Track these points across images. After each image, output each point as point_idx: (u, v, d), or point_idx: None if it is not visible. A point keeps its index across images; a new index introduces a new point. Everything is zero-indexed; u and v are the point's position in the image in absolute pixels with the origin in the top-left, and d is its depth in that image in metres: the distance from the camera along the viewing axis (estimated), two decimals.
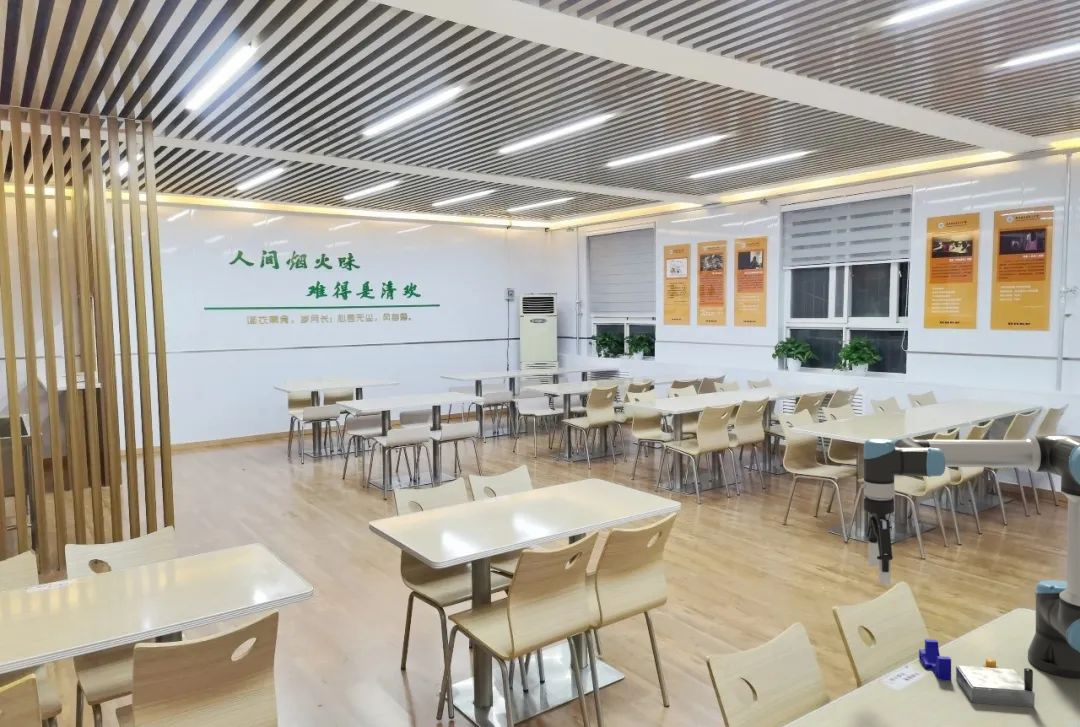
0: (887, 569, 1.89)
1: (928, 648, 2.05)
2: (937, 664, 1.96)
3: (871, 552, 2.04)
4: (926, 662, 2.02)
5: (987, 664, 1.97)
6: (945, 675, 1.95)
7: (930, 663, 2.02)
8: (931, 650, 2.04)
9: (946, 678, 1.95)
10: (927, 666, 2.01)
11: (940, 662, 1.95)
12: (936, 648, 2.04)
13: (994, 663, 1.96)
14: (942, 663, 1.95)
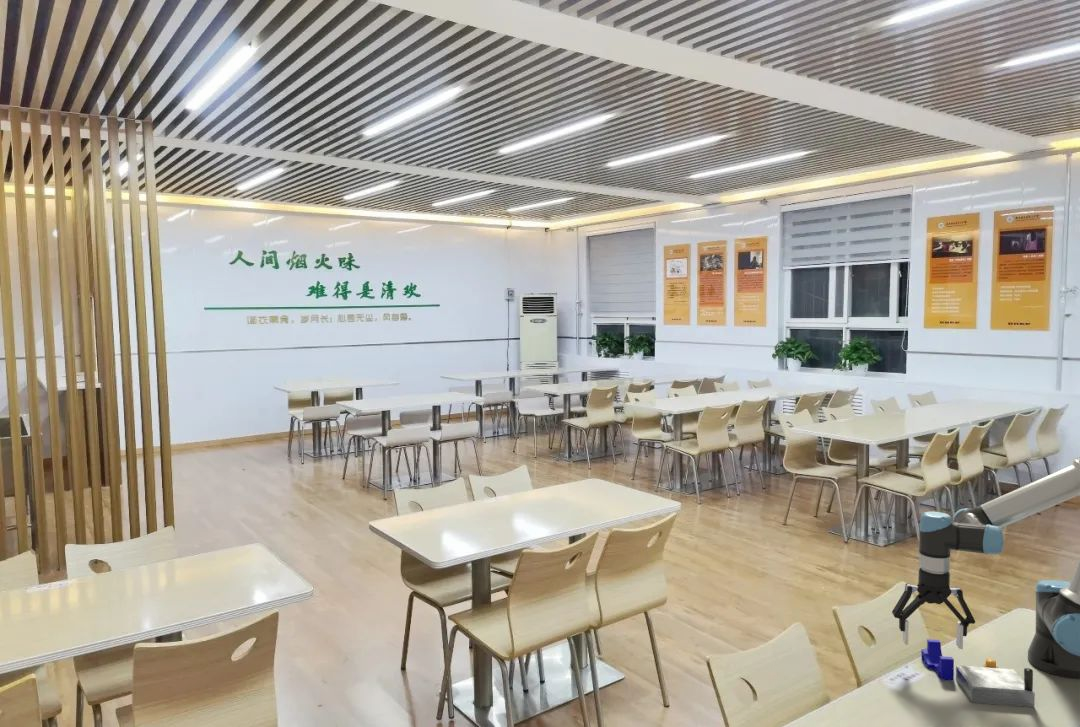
0: (900, 627, 2.02)
1: (930, 648, 2.05)
2: (940, 664, 1.96)
3: (957, 632, 2.00)
4: (928, 662, 2.02)
5: (987, 664, 1.97)
6: (948, 675, 1.95)
7: (932, 663, 2.01)
8: (933, 650, 2.04)
9: (948, 678, 1.95)
10: (929, 666, 2.01)
11: (943, 662, 1.95)
12: (938, 648, 2.04)
13: (994, 663, 1.96)
14: (945, 663, 1.95)
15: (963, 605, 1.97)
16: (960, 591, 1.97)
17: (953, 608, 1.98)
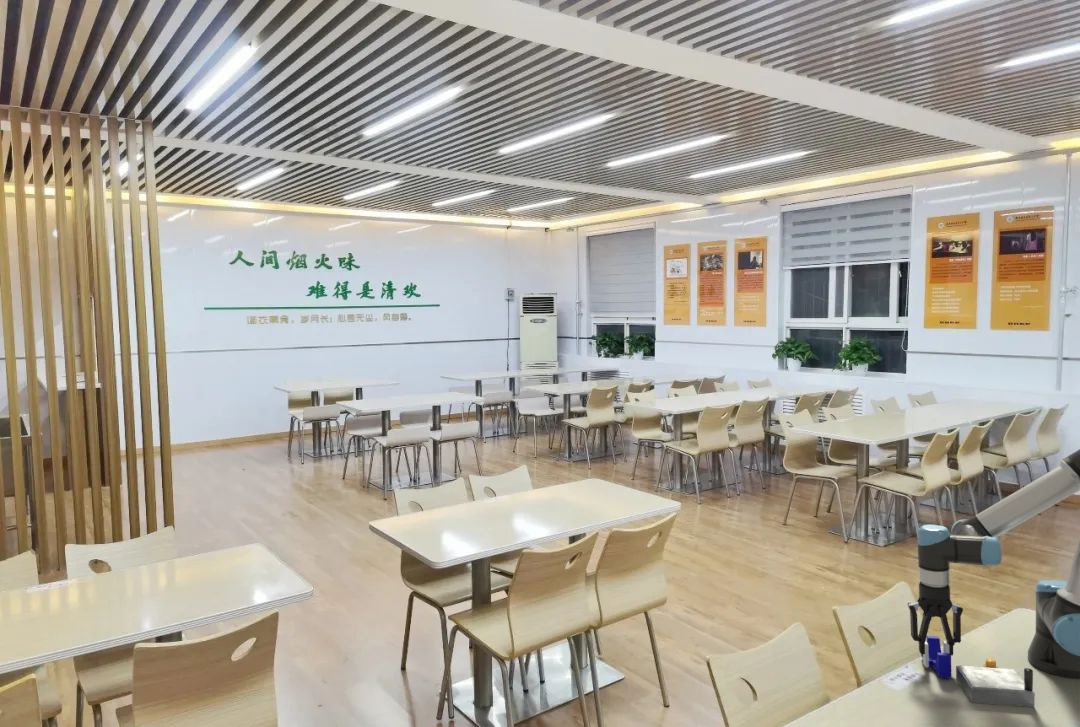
0: (919, 650, 2.01)
1: (930, 644, 2.05)
2: (937, 660, 1.96)
3: (944, 651, 2.01)
4: None
5: (987, 664, 1.97)
6: (946, 672, 1.95)
7: (931, 659, 2.02)
8: (933, 646, 2.04)
9: (946, 674, 1.95)
10: None
11: (940, 658, 1.95)
12: (938, 644, 2.04)
13: (994, 663, 1.96)
14: (942, 659, 1.95)
15: (957, 622, 1.98)
16: (961, 609, 1.97)
17: (947, 625, 1.98)
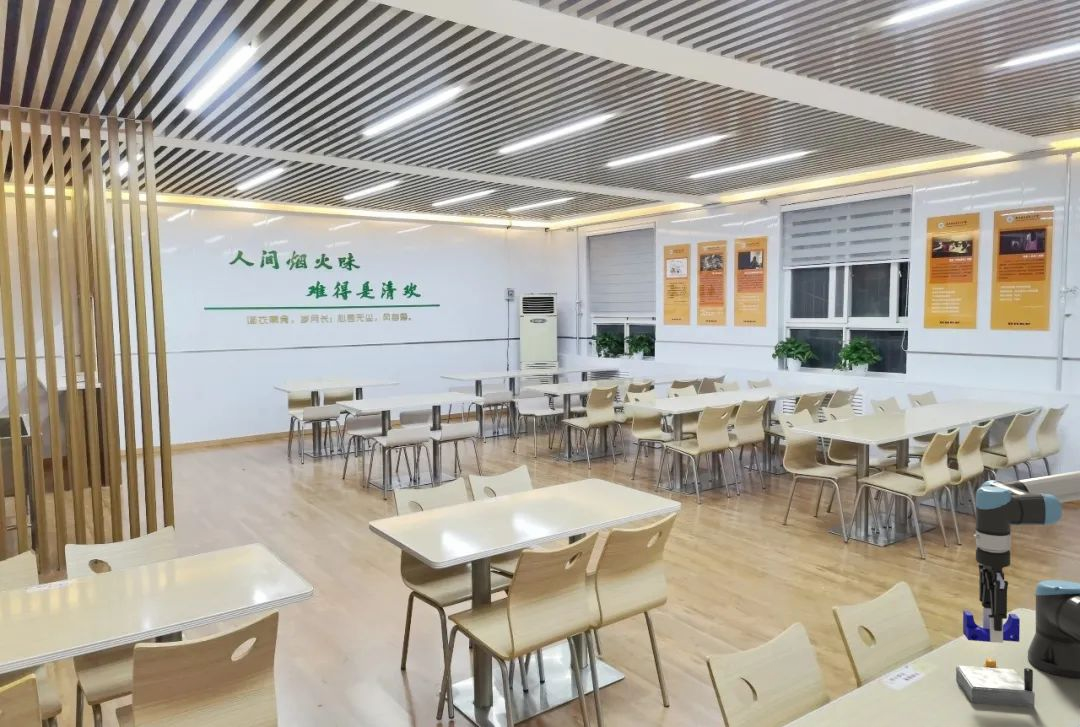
0: (1000, 628, 1.83)
1: None
2: (1014, 626, 1.85)
3: (986, 619, 1.89)
4: None
5: (987, 664, 1.97)
6: None
7: None
8: (974, 622, 1.88)
9: None
10: None
11: None
12: None
13: (994, 663, 1.96)
14: None
15: None
16: None
17: None
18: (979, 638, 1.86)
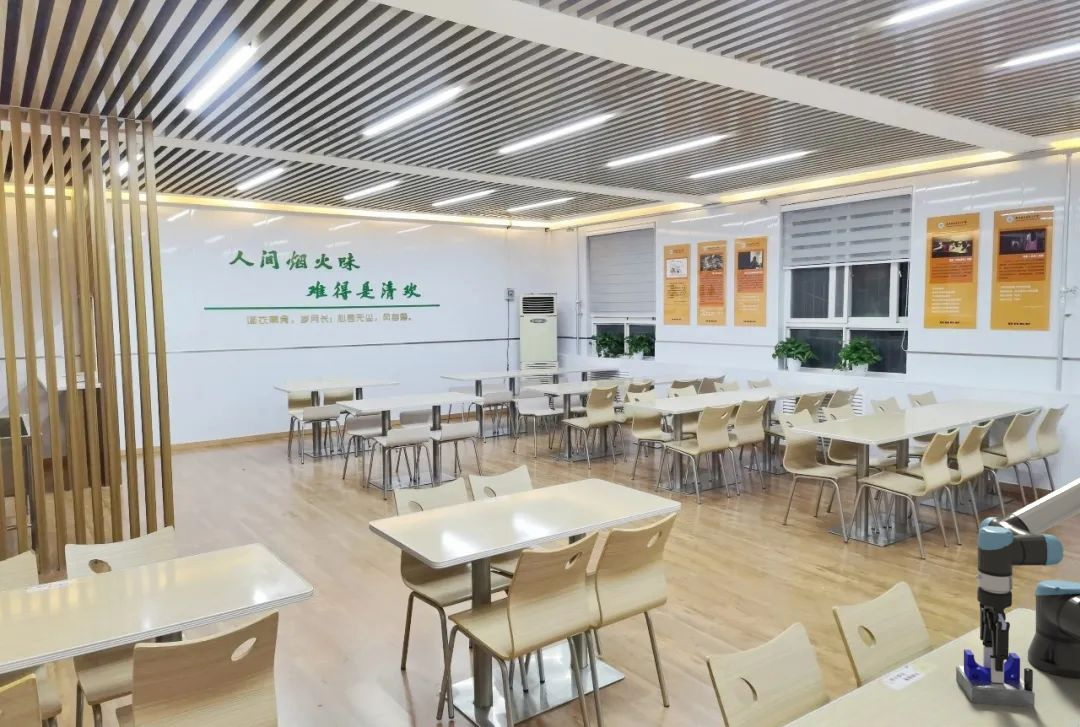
0: (1001, 668, 1.83)
1: None
2: (1014, 666, 1.85)
3: (987, 658, 1.90)
4: None
5: None
6: None
7: None
8: None
9: None
10: None
11: None
12: None
13: None
14: None
15: None
16: None
17: None
18: (980, 678, 1.86)
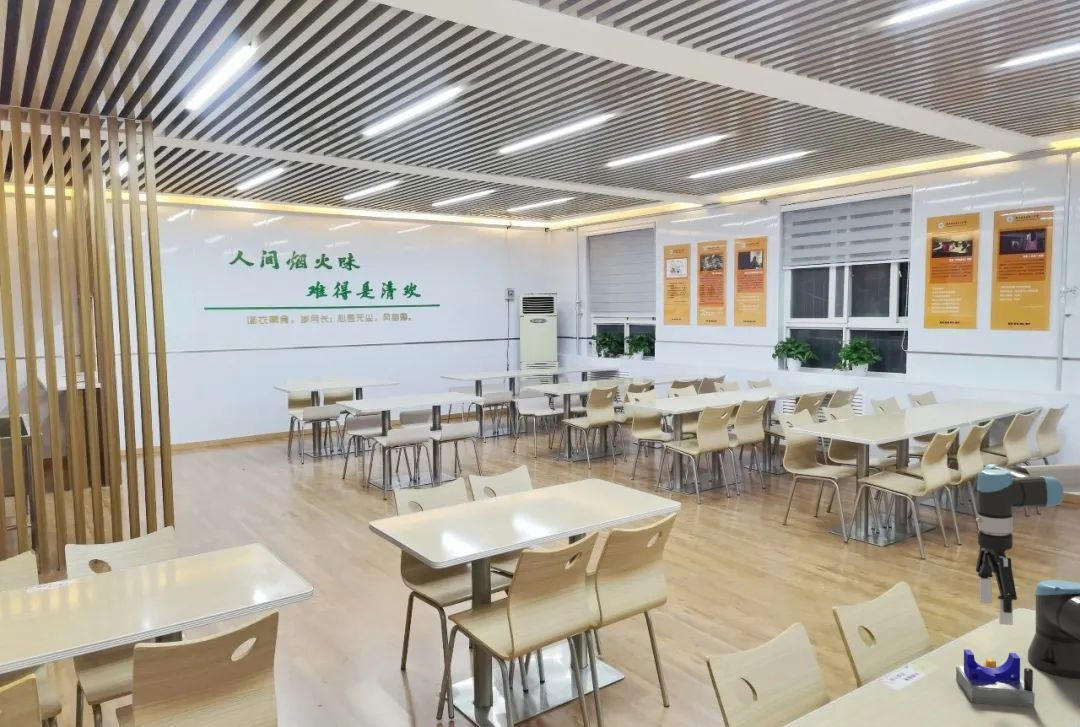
0: (1010, 609, 1.78)
1: (975, 661, 1.88)
2: (1014, 666, 1.85)
3: (983, 588, 1.93)
4: (991, 674, 1.86)
5: (987, 664, 1.97)
6: None
7: (991, 673, 1.87)
8: None
9: None
10: None
11: None
12: None
13: (994, 663, 1.96)
14: None
15: None
16: None
17: None
18: (980, 678, 1.86)
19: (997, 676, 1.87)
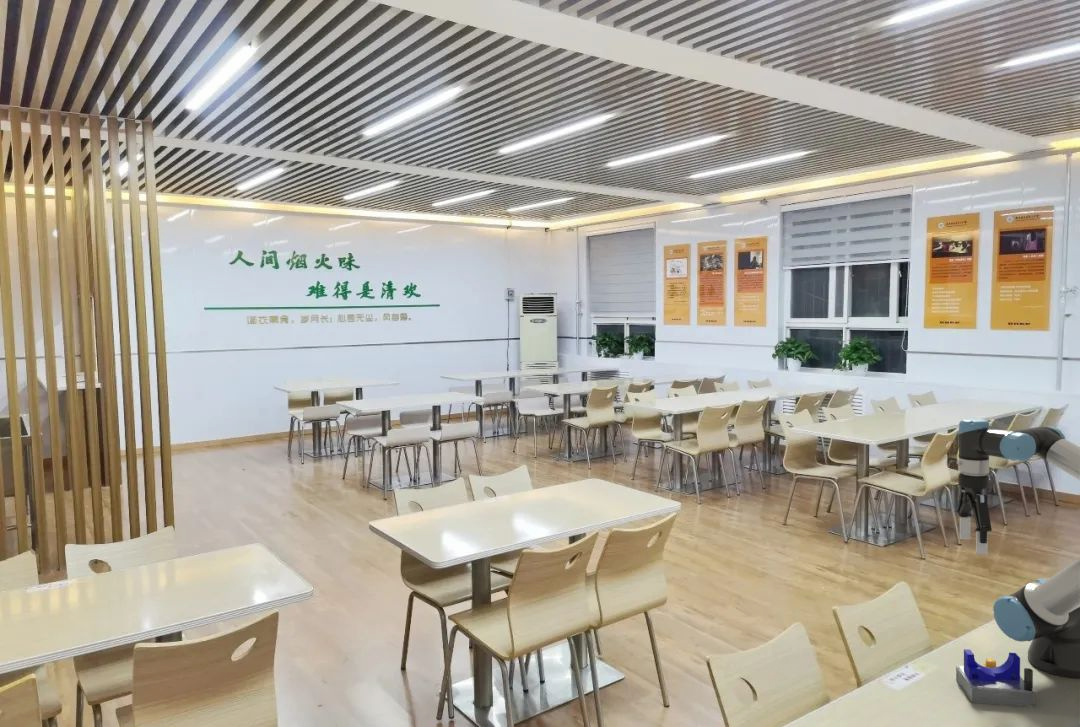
0: (985, 540, 2.01)
1: (975, 661, 1.88)
2: (1014, 666, 1.85)
3: (963, 526, 2.16)
4: (991, 674, 1.86)
5: (987, 664, 1.97)
6: None
7: (991, 673, 1.87)
8: None
9: None
10: None
11: None
12: None
13: (994, 663, 1.96)
14: None
15: None
16: None
17: None
18: (980, 678, 1.86)
19: (997, 676, 1.87)
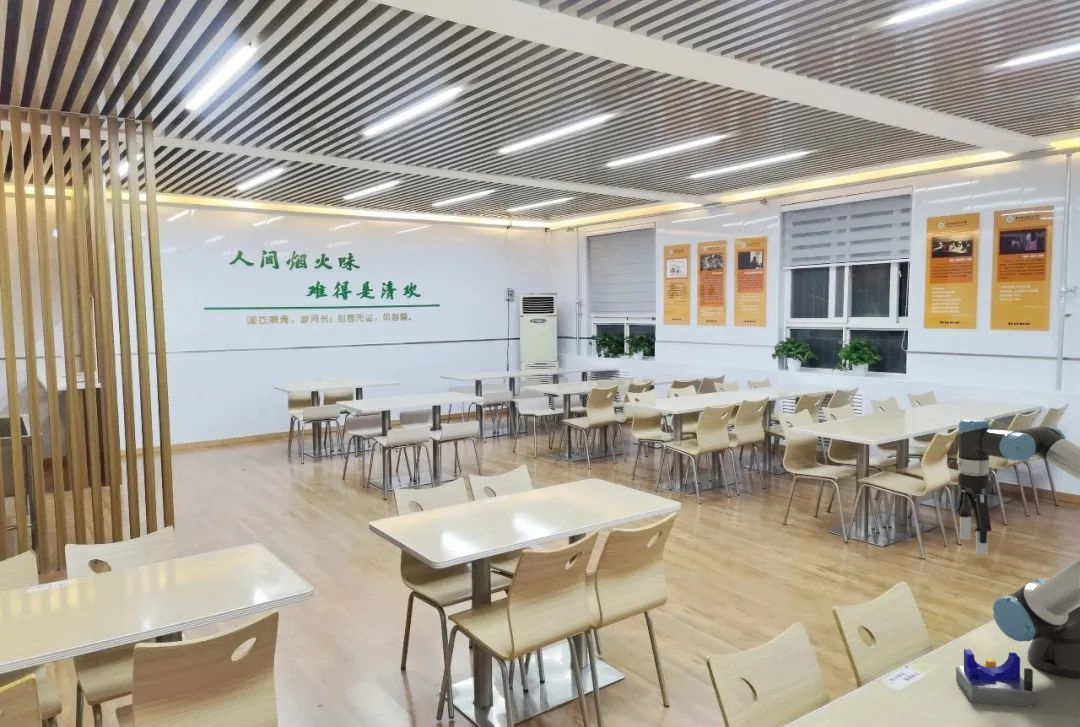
0: (985, 540, 2.01)
1: None
2: (1014, 665, 1.86)
3: (963, 526, 2.16)
4: (991, 674, 1.86)
5: (987, 664, 1.97)
6: None
7: (991, 673, 1.87)
8: None
9: None
10: None
11: None
12: None
13: (994, 663, 1.96)
14: None
15: None
16: None
17: None
18: (980, 677, 1.86)
19: (997, 676, 1.87)
